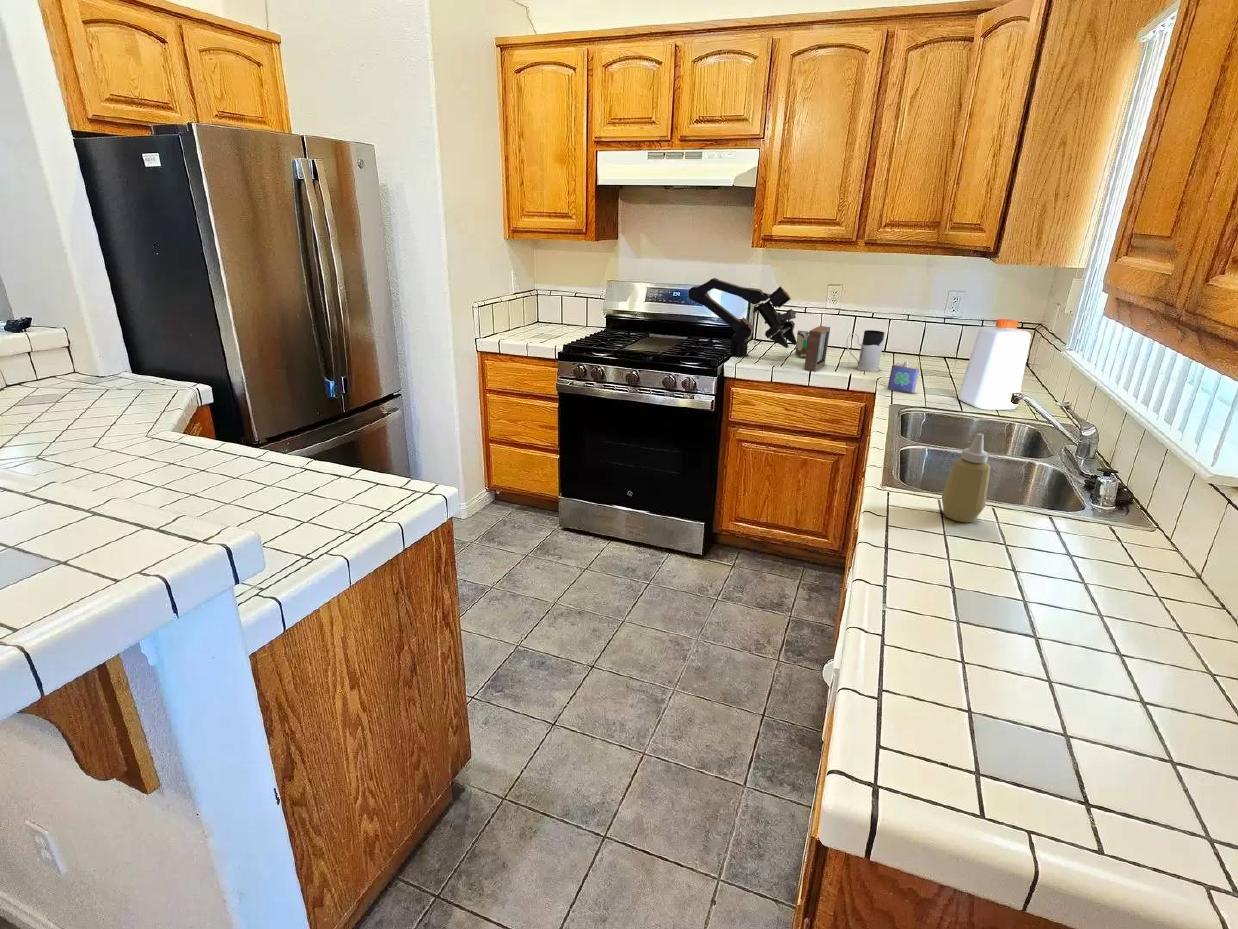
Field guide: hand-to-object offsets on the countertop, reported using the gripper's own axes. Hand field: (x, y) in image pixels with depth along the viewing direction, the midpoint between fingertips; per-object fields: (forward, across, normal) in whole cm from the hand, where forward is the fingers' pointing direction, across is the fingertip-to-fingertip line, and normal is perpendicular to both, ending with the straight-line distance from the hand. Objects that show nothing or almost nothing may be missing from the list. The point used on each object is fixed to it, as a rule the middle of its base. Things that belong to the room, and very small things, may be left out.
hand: (791, 345), depth 265 cm
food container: (+5, +18, +5) cm, 19 cm away
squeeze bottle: (+63, -119, -53) cm, 145 cm away
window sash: (+9, +1, -3) cm, 9 cm away
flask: (+39, -17, -29) cm, 51 cm away
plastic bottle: (+58, -15, -48) cm, 77 cm away
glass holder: (+23, +10, -14) cm, 29 cm away
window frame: (+13, -1, -3) cm, 13 cm away
